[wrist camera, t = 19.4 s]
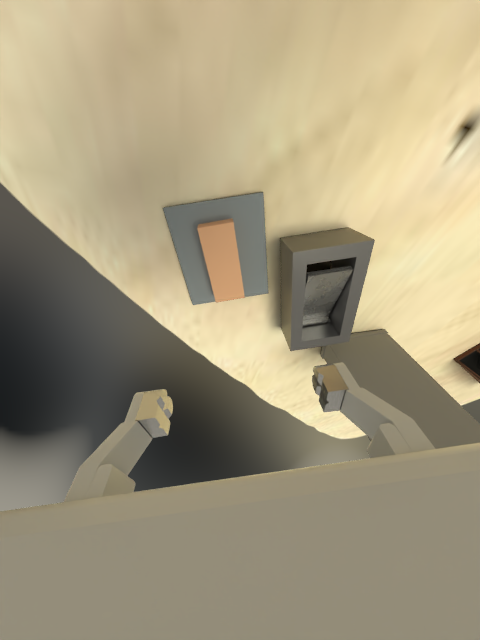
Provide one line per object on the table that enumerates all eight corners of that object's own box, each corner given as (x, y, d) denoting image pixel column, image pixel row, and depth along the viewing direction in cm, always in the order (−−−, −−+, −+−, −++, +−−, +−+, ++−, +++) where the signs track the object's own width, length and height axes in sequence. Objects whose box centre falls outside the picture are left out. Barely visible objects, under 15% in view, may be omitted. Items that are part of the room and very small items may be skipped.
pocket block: (280, 237, 34) (293, 252, 28) (348, 227, 34) (374, 239, 28) (281, 327, 45) (290, 351, 39) (332, 319, 45) (348, 342, 39)
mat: (262, 192, 30) (263, 192, 29) (267, 291, 39) (268, 293, 39) (164, 207, 30) (162, 208, 29) (193, 302, 39) (192, 305, 39)
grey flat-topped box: (319, 355, 51) (386, 477, 31) (323, 336, 47) (402, 461, 27) (375, 347, 51) (477, 465, 31) (383, 328, 48) (505, 446, 28)
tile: (198, 224, 31) (197, 228, 29) (232, 218, 31) (233, 222, 29) (215, 295, 38) (215, 302, 36) (243, 290, 38) (244, 297, 36)
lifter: (307, 272, 30) (310, 281, 30) (350, 265, 30) (355, 274, 30) (294, 319, 42) (296, 327, 41) (326, 314, 42) (329, 321, 41)
